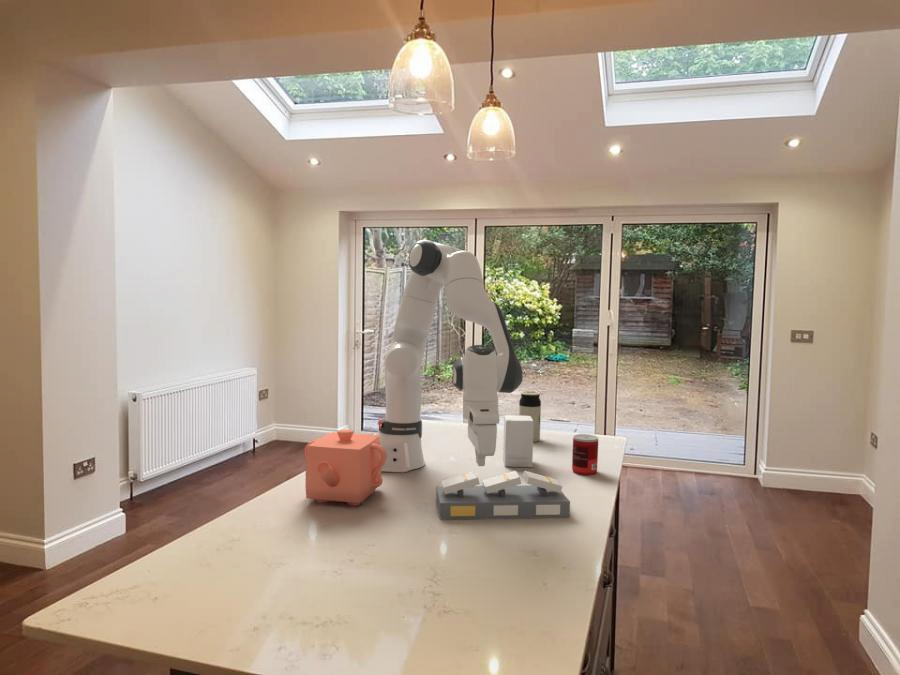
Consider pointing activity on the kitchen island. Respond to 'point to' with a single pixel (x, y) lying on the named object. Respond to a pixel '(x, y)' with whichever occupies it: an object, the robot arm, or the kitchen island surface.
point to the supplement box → (518, 441)
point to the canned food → (585, 454)
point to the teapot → (343, 467)
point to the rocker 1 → (460, 482)
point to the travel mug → (531, 410)
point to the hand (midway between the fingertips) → (480, 464)
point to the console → (502, 503)
